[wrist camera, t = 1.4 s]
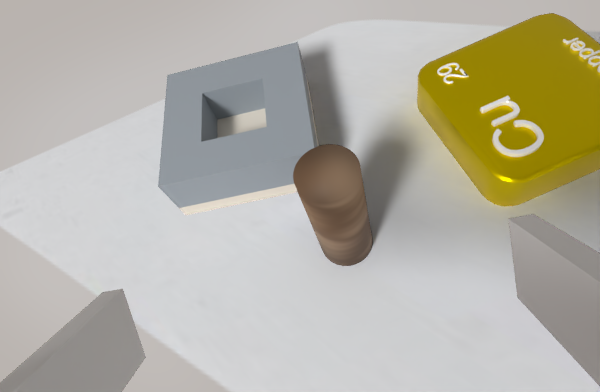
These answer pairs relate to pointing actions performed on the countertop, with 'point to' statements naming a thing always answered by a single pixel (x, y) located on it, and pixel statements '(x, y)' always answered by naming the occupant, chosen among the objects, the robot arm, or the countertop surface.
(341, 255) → the pin
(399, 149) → the countertop surface
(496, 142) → the element tile
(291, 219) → the countertop surface
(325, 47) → the countertop surface
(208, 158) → the socket block
